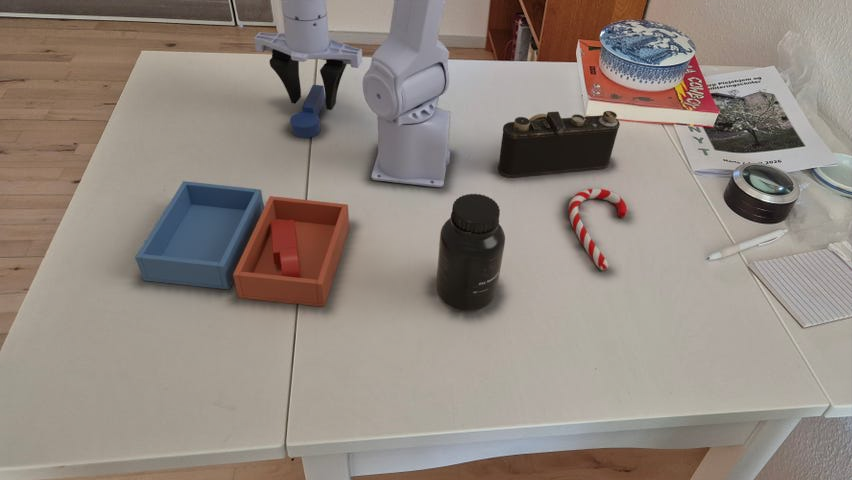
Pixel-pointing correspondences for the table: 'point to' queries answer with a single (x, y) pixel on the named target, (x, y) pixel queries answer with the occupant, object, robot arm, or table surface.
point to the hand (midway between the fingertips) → (313, 103)
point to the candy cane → (579, 226)
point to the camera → (557, 144)
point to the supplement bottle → (470, 253)
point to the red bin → (317, 252)
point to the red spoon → (285, 247)
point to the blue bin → (201, 235)
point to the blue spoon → (309, 114)
